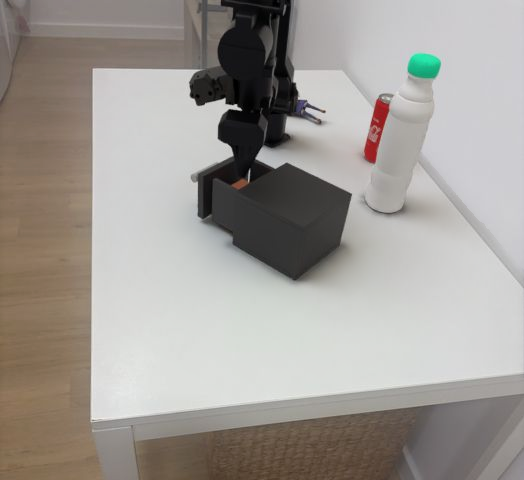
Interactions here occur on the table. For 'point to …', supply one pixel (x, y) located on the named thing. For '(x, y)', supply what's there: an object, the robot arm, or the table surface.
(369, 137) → the beverage can
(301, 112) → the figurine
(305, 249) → the cabinet
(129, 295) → the table surface
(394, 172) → the water bottle
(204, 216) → the drawer
